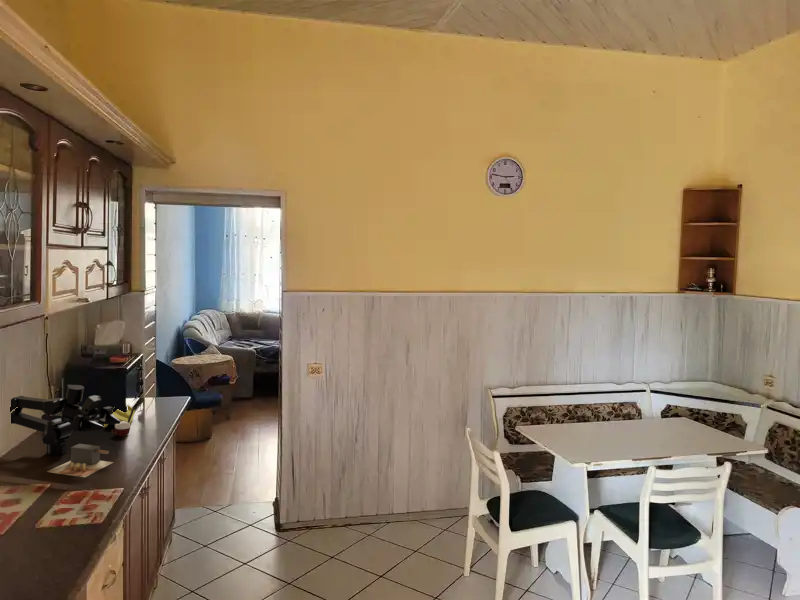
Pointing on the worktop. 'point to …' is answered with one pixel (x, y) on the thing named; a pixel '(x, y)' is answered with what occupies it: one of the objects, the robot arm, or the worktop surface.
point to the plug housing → (86, 454)
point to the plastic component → (122, 415)
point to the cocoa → (123, 426)
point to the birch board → (90, 469)
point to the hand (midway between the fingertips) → (111, 425)
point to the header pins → (78, 467)
